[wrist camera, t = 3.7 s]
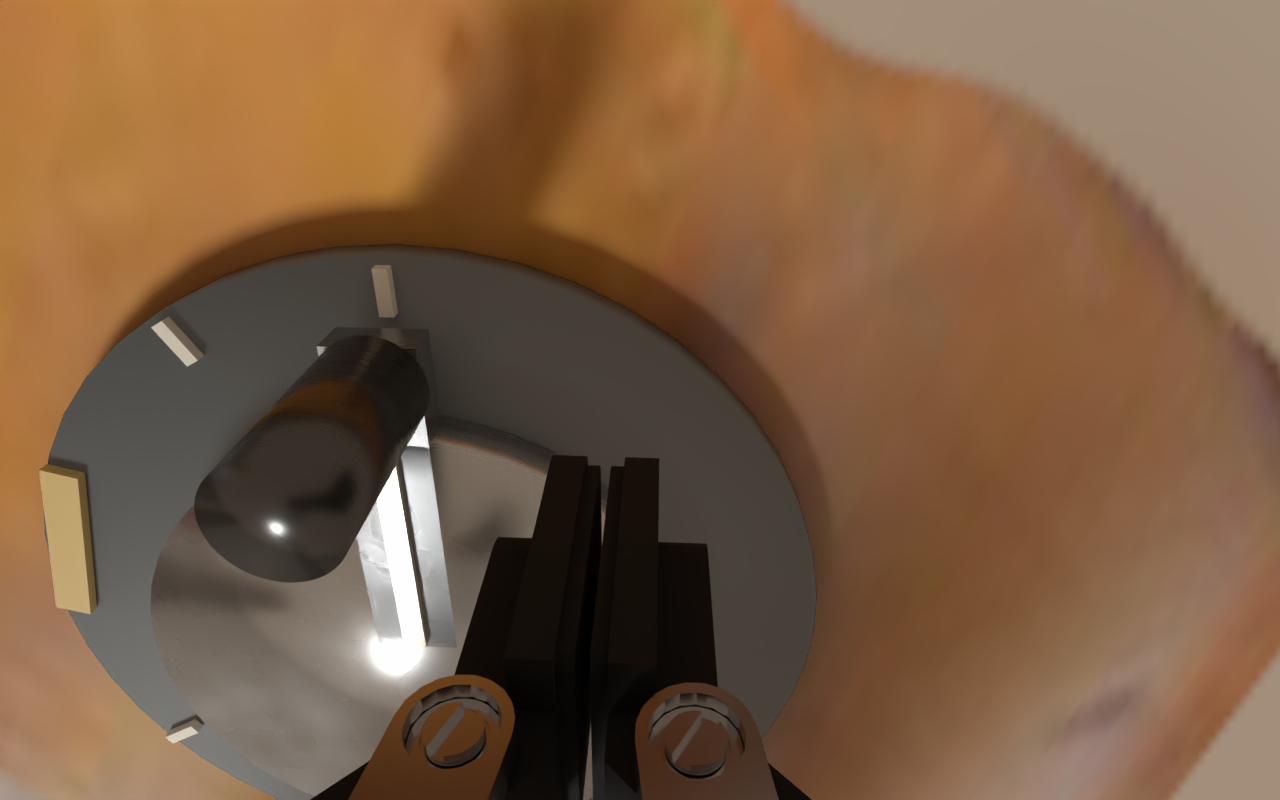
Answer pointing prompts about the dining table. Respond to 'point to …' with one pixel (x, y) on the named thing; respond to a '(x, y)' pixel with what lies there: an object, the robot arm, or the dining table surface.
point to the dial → (339, 558)
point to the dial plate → (466, 389)
